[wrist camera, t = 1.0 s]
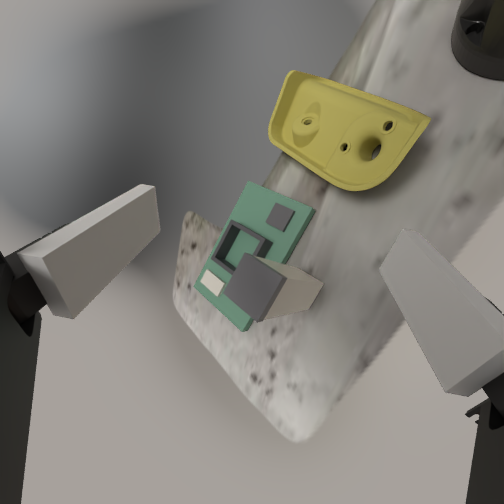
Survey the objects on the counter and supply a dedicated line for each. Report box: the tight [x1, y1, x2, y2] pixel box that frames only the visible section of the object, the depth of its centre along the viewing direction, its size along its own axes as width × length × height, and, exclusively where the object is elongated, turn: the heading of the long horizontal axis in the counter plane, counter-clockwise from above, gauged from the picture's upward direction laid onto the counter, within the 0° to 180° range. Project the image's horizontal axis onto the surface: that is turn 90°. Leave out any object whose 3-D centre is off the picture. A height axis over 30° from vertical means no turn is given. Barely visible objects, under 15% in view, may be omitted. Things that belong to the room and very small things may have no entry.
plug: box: [223, 253, 324, 322], centre depth 24 cm, size 4×4×14 cm
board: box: [194, 181, 315, 332], centre depth 33 cm, size 20×12×4 cm, turn 147°
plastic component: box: [268, 70, 431, 191], centre depth 29 cm, size 20×7×10 cm
